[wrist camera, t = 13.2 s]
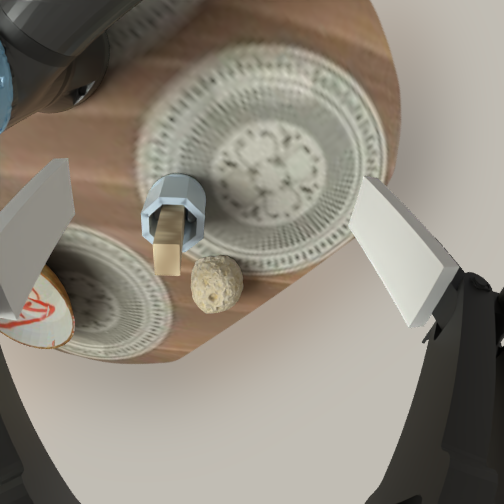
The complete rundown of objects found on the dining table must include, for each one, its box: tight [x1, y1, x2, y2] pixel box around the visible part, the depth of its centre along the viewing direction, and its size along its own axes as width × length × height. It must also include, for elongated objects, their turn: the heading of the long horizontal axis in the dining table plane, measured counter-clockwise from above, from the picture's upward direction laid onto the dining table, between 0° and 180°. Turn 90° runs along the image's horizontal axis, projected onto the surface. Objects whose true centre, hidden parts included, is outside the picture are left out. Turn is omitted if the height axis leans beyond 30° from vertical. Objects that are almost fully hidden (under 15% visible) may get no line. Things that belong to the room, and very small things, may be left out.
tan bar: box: [153, 204, 186, 276], centre depth 42 cm, size 3×4×14 cm, turn 173°
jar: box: [141, 173, 206, 252], centre depth 45 cm, size 9×9×8 cm
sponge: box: [191, 255, 243, 314], centre depth 55 cm, size 9×10×10 cm
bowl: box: [0, 264, 75, 349], centre depth 50 cm, size 25×25×8 cm
